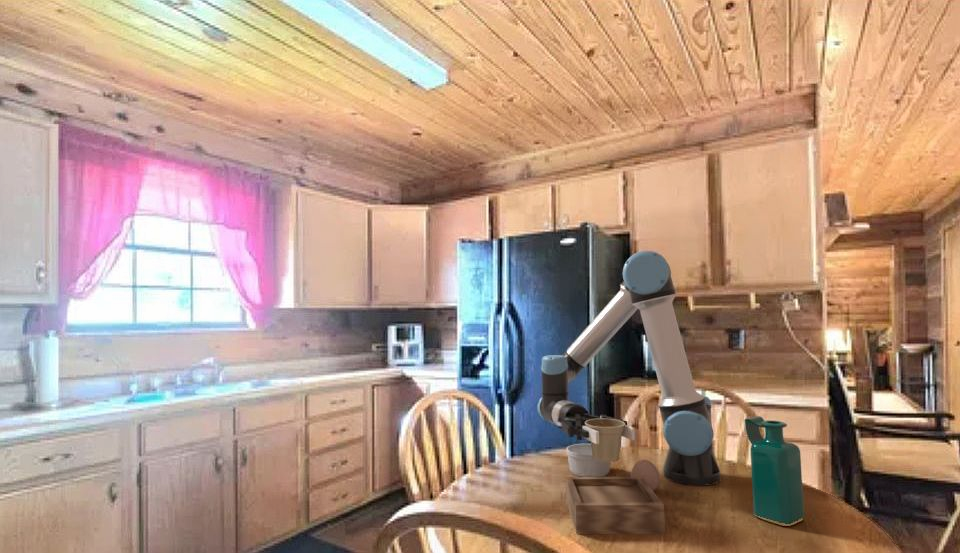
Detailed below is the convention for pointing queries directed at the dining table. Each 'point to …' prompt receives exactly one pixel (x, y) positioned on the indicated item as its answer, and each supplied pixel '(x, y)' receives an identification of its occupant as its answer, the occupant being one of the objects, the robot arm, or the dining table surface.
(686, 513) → the dining table surface
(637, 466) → the egg
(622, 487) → the walnut open box
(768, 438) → the teal bottle with handle
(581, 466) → the ramekin
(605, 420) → the flower pot
